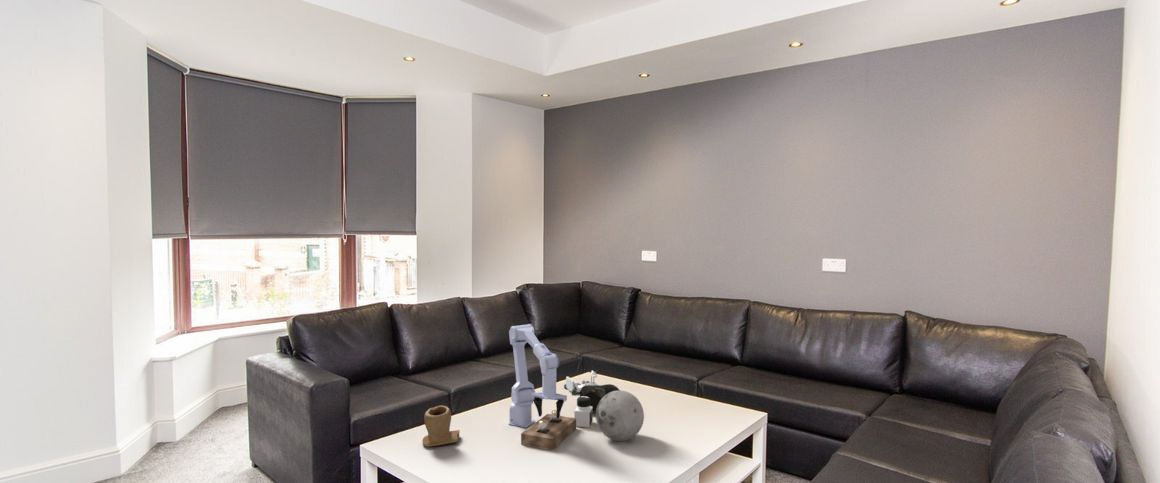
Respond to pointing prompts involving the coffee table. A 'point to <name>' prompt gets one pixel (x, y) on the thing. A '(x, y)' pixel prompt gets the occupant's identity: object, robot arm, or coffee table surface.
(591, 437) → the coffee table surface
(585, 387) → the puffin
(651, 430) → the coffee table surface
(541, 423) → the peg near
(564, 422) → the socket block
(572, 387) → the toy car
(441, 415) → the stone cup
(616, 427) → the moon model
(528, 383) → the robot arm
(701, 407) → the coffee table surface
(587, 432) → the coffee table surface
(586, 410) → the medicine bottle
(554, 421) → the peg far
